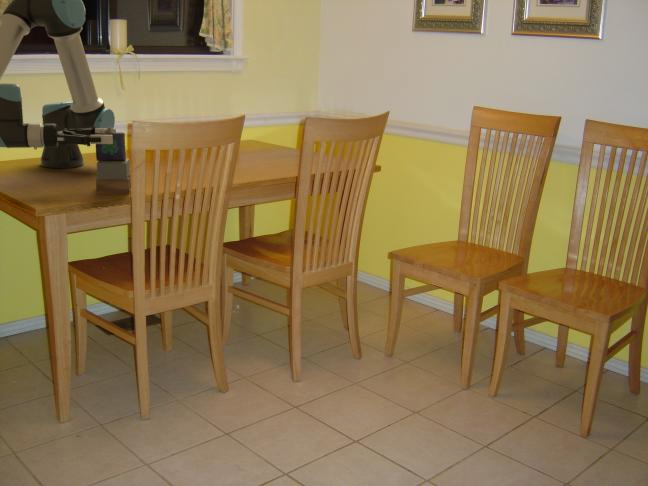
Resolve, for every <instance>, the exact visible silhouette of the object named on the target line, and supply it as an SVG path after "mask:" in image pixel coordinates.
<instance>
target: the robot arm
mask: <svg viewBox="0 0 648 486" xmlns="http://www.w3.org/2000/svg"><path fill="white" fill-rule="evenodd" d="M86 13H87V12H86V8H85V4H84V2H83V0H11V2H9V4H7V6H6V7H5V8H4V11H3V13H2V14H1V16H0V80H1V79H2V78H3V76H4V73H5V71H6V70H7V68H8V66H9V64H10V62H11V61H12V58H13V56H14V55H15V53H16V51H17V49H18V48H19V45H20V44H21V42H22V40H23V38H24V36H27V35H29V33H31V30H32V29H33V28H35V27H44V28H45V31H46V35H47V36H48V37H49V38H51V39H53V41H54V45H55V48H56V51H57V54H58V58H59V60H60V64H61V67H62V71H63V74H64V77H65V80H66V84H67V87H68V90H69V92H70V93H69V94H70V96H71V100H70V101H61V102H50V103H45V104H44V105H43V106H42V113H41V114H42V115H41V118H42V123H41V122H40V123H38V122H37V123H36V122H35V123H33V122H32V123H31V122H29V123H28V122H27V123H24V115H23V114H24V113H23V103H22V102H23V97H22V93H21V87H20V86H19V85H18V84H17V83H0V148H6V149H11V148H12V149H15V148H16V149H17V148H19V149H21V148H23V149H27V148H33V150H37V149H38V148H43V149H42V151H41V152H42V153H41V155H40V156H41V157H40V165H41V167H44V168H48V169H49V168H50V169H68V168H70V169H71V168H77V167H81V166H83V165H84V163H85V162H84V157H83V154H82V152H81V150H80V149H81V148H80V147H79V145H83V146H86V147H91V145H96V144H113V136H112V135H95V133H96V132H100V131H102V132H104V131H106V130H108V128H107V127H112V129H111V130H112V132H113V133H114V132H117V129H116V128H115V124H116V123H115V121H116V120H115V112H114V111H113V109H111V108H109V107H106V106H105V103H104V102H105V101H104V100H103V99H102V98H101V97H99V96H98V95H97V91H96V86H95V84H94V80H93V76H92V73H91V70H90V66H89V63H88V59H87V56H86V52H85V48H84V46H83V45H84V44H83V42H82V38H81V35H80V33H81V32H82V30H83V25H84V24H85V22H86Z"/></svg>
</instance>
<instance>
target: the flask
mask: <svg viewBox="0 0 648 486" xmlns="http://www.w3.org/2000/svg"><path fill="white" fill-rule="evenodd" d="M107 128H108V130H106V131H104V132H102V131H100V132H96V133H95V135H112V136H113V144H95V157H96V161H97V162H98V161H125V160H126V158H127V157H126V155H127V154H126V153H127V152H126V138H125V137H126V134H125V132H122V131H121V132H120V131H119V132H118V131H116V132H114V133H113V132H112V130H111V129H112V127H107Z"/></svg>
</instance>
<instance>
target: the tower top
mask: <svg viewBox="0 0 648 486" xmlns="http://www.w3.org/2000/svg"><path fill="white" fill-rule="evenodd" d="M96 172H97V173H96V175H97V177H96V178H98V179H127V178H128V176H129V174H130V173H131V171H130V158H127V157H126V160H125V161H97V162H96Z"/></svg>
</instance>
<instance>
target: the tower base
mask: <svg viewBox="0 0 648 486" xmlns="http://www.w3.org/2000/svg"><path fill="white" fill-rule="evenodd" d="M131 175H132V173H131V172H130V174H129V176H128V178H127V179H98V178H97V177H96V178H95V186H96V195H103V194H104V195H108V194H109V195H114V194H115V195H117V194H118V195H123V194H126V195H129V194H130V192H131V189H132V176H131Z"/></svg>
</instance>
